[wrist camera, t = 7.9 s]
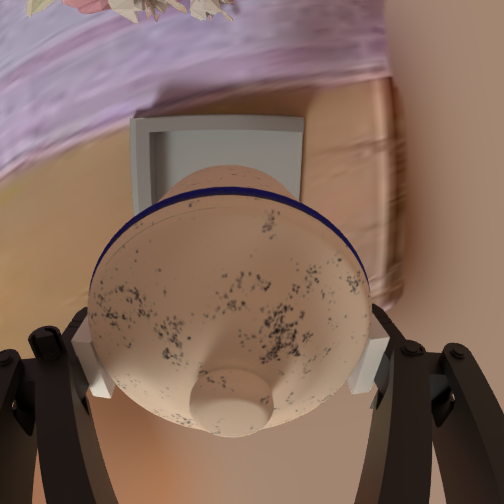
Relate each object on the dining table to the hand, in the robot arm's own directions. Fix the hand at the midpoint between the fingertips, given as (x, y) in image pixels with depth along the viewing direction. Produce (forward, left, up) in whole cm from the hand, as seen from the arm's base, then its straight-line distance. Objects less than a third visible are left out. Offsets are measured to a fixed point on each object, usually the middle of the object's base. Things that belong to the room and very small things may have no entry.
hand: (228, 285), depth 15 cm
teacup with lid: (0, 0, -3) cm, 3 cm away
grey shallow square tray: (0, -1, -15) cm, 15 cm away
